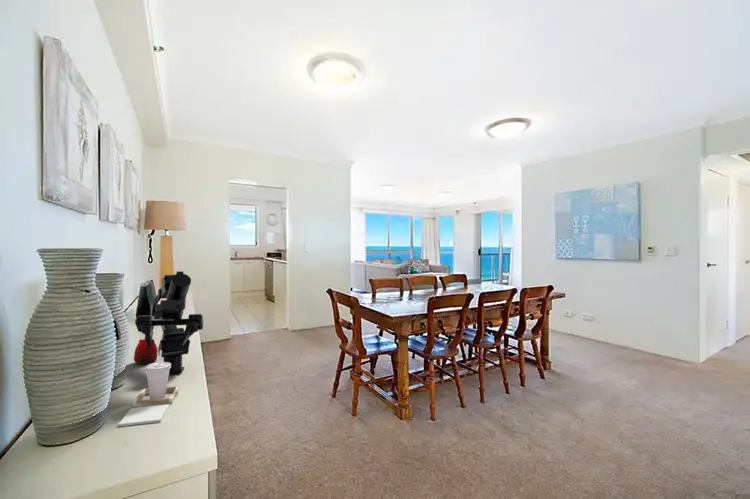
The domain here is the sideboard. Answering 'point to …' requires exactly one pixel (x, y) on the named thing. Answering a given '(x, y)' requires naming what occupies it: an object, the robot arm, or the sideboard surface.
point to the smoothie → (158, 378)
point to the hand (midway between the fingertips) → (165, 345)
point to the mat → (144, 415)
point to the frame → (152, 402)
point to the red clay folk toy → (145, 352)
